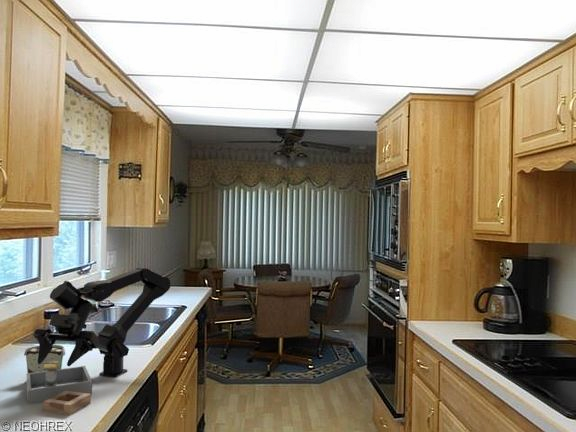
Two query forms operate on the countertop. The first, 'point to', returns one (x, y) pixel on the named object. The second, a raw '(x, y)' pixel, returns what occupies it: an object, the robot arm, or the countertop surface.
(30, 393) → the tray
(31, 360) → the food container
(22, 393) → the countertop surface
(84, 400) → the socket block
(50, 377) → the pin
